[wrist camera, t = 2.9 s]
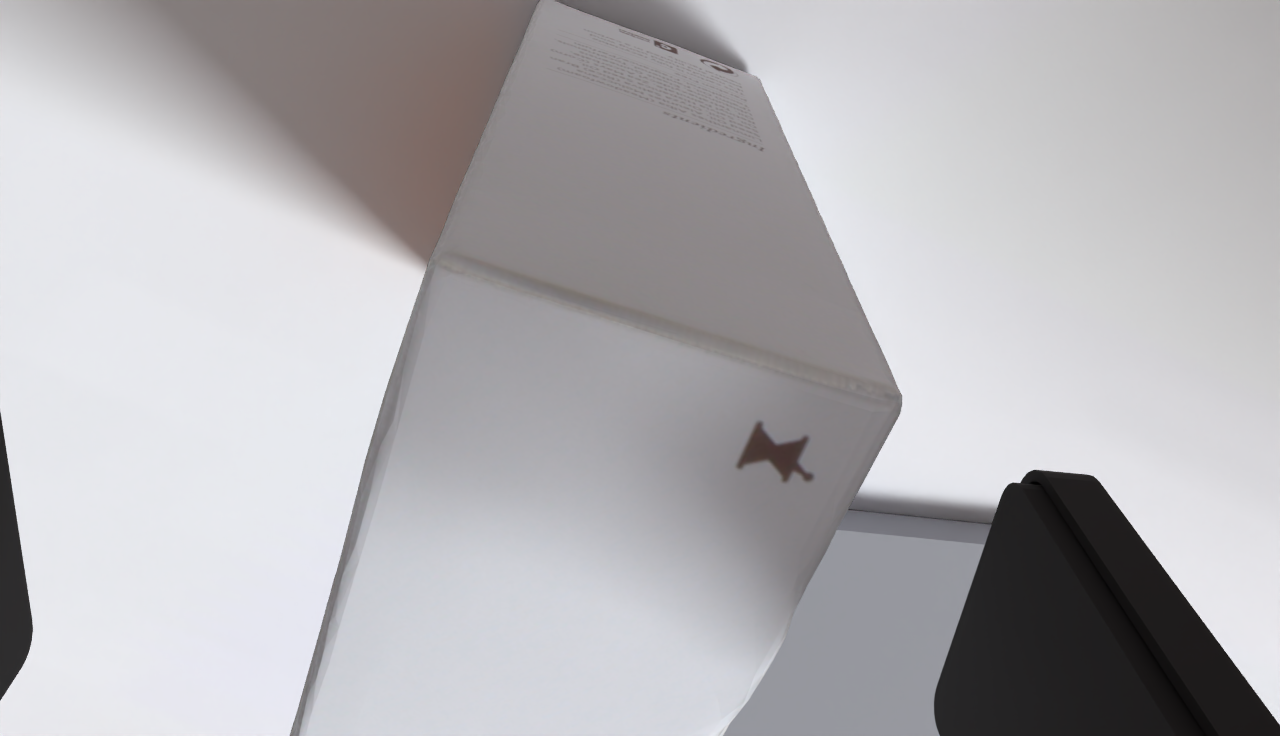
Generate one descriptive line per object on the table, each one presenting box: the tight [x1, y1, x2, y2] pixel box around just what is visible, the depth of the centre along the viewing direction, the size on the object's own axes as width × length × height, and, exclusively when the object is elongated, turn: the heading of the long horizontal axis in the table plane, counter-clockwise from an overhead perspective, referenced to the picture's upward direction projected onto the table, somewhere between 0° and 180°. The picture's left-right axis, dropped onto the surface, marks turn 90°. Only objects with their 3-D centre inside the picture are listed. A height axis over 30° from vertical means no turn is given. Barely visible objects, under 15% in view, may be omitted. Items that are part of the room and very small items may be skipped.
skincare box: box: [290, 0, 902, 736], centre depth 15 cm, size 6×4×12 cm
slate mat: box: [723, 510, 992, 736], centre depth 26 cm, size 13×13×1 cm
